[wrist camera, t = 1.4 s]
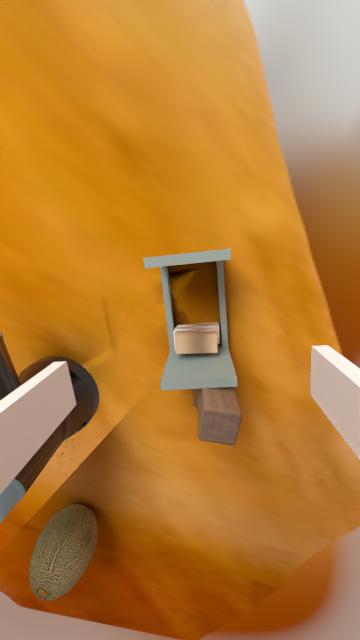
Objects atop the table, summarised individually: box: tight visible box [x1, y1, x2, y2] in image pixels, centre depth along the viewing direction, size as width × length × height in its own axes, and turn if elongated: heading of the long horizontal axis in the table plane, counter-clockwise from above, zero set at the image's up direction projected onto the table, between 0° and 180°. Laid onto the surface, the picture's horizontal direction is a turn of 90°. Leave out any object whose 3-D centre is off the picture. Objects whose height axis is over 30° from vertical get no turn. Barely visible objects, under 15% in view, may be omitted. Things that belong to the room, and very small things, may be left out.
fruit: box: [29, 504, 98, 601], centre depth 50 cm, size 11×11×15 cm
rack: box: [143, 249, 238, 390], centre depth 37 cm, size 10×17×13 cm, turn 6°
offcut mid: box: [173, 326, 216, 345], centre depth 42 cm, size 7×3×2 cm, turn 94°
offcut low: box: [176, 322, 220, 344], centre depth 44 cm, size 7×3×2 cm, turn 95°
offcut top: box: [174, 330, 218, 354], centre depth 39 cm, size 6×3×2 cm, turn 94°
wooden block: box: [193, 387, 242, 445], centre depth 38 cm, size 9×4×18 cm, turn 172°
